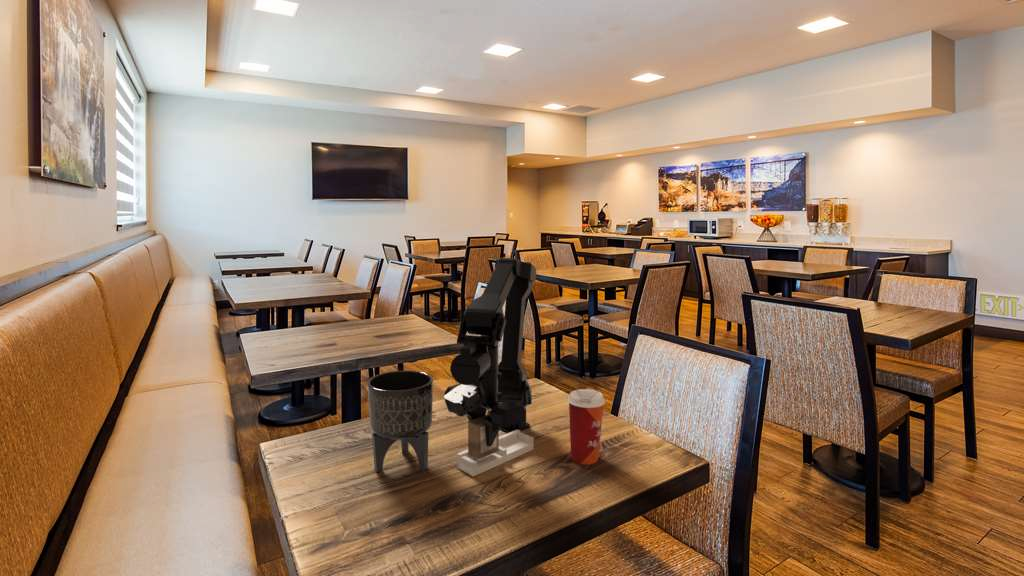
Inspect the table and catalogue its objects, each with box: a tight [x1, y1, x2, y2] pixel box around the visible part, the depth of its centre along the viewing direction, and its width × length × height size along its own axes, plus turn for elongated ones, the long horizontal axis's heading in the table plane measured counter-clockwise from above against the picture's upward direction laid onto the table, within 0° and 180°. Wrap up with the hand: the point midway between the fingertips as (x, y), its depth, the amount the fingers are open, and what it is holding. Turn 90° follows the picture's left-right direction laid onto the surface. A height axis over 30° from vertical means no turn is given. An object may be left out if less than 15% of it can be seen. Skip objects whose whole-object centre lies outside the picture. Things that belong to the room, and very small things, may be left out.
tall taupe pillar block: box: [467, 414, 500, 459], centre depth 109 cm, size 6×3×7 cm, turn 134°
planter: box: [366, 370, 434, 473], centre depth 109 cm, size 13×13×18 cm
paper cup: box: [567, 388, 606, 466], centre depth 112 cm, size 8×8×14 cm
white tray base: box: [456, 429, 535, 477], centre depth 113 cm, size 5×17×3 cm, turn 134°
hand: (483, 443), depth 109 cm, fingers closed on tall taupe pillar block, 3 cm apart
